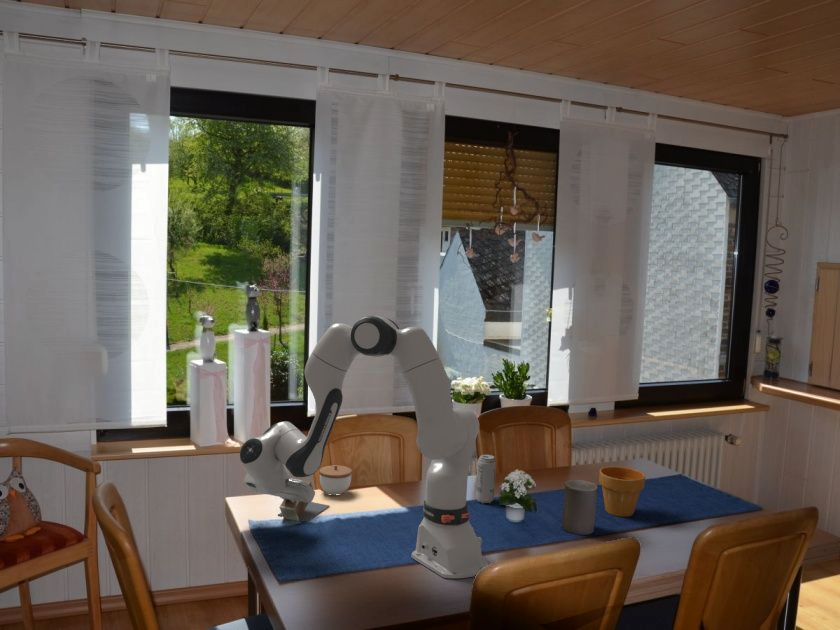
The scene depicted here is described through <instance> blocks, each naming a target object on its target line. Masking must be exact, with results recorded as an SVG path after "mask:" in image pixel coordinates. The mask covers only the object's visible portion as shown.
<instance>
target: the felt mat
mask: <svg viewBox="0 0 840 630" xmlns="http://www.w3.org/2000/svg"><path fill="white" fill-rule="evenodd" d="M329 506H330V505H328V504H324V503H319V502H315V501H314V502H313V501H312V502H311V503H308V505H307V507H306V509H305V510H304V512H303V514H302V516H301V517H300V519H299V521H301V520H302V522H306V521H307V522H309V521H310V520H312V519H313V518H315V517H316V516H318V515H320V514H321V513H322V511H323V510H324V511H326V510H327V509H329V508H330V507H329ZM328 507H329V508H328ZM326 508H327V509H326ZM325 509H326V510H325ZM324 511H323V512H324ZM319 513H320V514H319ZM277 516H278V517H282V516H283V515H282V513H281V512H280V513H278V514H277ZM311 518H312V519H311ZM308 520H309V521H308Z"/></svg>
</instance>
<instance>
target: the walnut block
mask: <svg viewBox="0 0 840 630" xmlns="http://www.w3.org/2000/svg"><path fill="white" fill-rule="evenodd" d="M300 480H301V481H304V482H306V483H307V484H309V485H310V486H311V487H312V489H313V490H314V488H313V485H312V482H311V481H309V480H302V479H300ZM307 505H308V503H306V502H301V501H297V500H295V502H294V503H292V502H288V501H284V500H283V501H282V502H281V504H280V505H279V509H280V510H279V511H280V513H282V515H283V519H285V518H287V519H286V520H290V519H292V520H291V521H295V520H297V521H296V522H299V521H300V520H299V519H300V517H301V516H302V514H303V512H304V510H305V509H306V507H307Z"/></svg>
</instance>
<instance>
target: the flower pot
mask: <svg viewBox="0 0 840 630" xmlns="http://www.w3.org/2000/svg"><path fill="white" fill-rule="evenodd" d="M598 478H599V484H600V486H601V487H602V488H601V489H602V496H603V501H604V502H603V503H604V508H605V509H604V510H605V512H607V513H608V514H610V515H613V516H616V517H619V518H620V517H621V518H623V517H624V518H628V517H631V516H633V515H634V513H635V510H636V508H637V504H638V501H639V498H640V494H641V491H642V490H643V489H644V488H645V483H646V475H645V473H643V472H641V471H639V470H637V469H634V468H630V467H625V466H624V467H623V466H605V467H602V468H600V470H599V477H598Z"/></svg>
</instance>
